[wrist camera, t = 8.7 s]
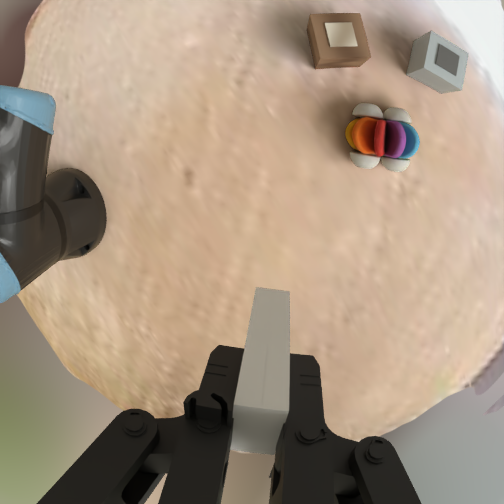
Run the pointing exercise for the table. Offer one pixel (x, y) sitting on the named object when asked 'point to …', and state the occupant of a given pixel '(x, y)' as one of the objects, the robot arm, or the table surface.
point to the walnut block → (337, 40)
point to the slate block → (437, 63)
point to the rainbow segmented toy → (381, 137)
